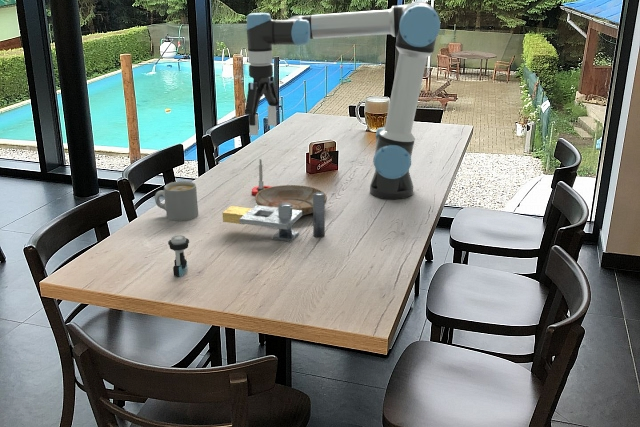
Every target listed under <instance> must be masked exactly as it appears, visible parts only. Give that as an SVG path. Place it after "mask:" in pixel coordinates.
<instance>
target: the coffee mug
mask: <svg viewBox="0 0 640 427" xmlns="http://www.w3.org/2000/svg"><path fill="white" fill-rule="evenodd" d="M197 193H198V192H197V184H196V183H194V182H193V181H192V182H191V181H186V180H185V181H184V180H181V181H174V182H173V181H171V182H169V183H166V185H164V187H163V190H158V191H156V192H155V195H154V200H155V201H154V202H155V205H156V206H157V207H158V208H160V209H162V210H164V211H165V212H166V218H167V219H168V220H170V221H175V222H186V221H190V220H194V219H195V218H197V217H198V216H199V206H198V195H197ZM160 196H162V197H163V198H164V203H162V202H161V200H160Z"/></svg>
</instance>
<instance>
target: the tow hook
mask: <svg viewBox="0 0 640 427" xmlns="http://www.w3.org/2000/svg"><path fill="white" fill-rule="evenodd" d="M262 160H263V159H262V158H259V162H258V163H259V165H258V185H257V186H253V188H251V195H252V196H256V194H257V193H258V192H259V191H261V190H263V189H266V188H269V187H273V186H272V185H264V180H263V178H264V177H263V176H264V175H263V161H262Z"/></svg>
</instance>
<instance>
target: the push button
mask: <svg viewBox="0 0 640 427" xmlns="http://www.w3.org/2000/svg"><path fill="white" fill-rule="evenodd" d="M167 242H168V246H169V249H170V250H172V251H173V252H174V253H175V259H174V265H173V267H172V269H173V276H174V277H183V276H184V274H187V273H188V261H187V259H186V256H185V250H187V249H188V248H189V243H190V239H188V238H187V237H186V236H185V235H180V234H179V235H174V236H172V237H171V239H169V240H168V241H167Z"/></svg>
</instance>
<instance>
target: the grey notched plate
mask: <svg viewBox="0 0 640 427" xmlns="http://www.w3.org/2000/svg"><path fill="white" fill-rule="evenodd" d="M302 216H303V215H302V210H294V209H292V204H291V203H280V204H278V208H276V207H268V206H259V205H258V204H256V205H255V206H253V207H243V206H236V205H234V206H233V205H230V207H228V208H226V209H225V210H224V211H222V223H230V224H236V225H237V224H238V225H249V226H257V227H265V228H271V229H273V228H274V229H278V231H277V232H276V233H275V234H274V235H272V240H277V241H283V242H284V241H285V242H291V243H292V242H293V241H294V240H295V239H296V238H297V237H298V236H299V235H300V231H295V230H293V225H294V224H295V223H296V222H297V221H298V220H299V219H300V218H301V217H302Z"/></svg>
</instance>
